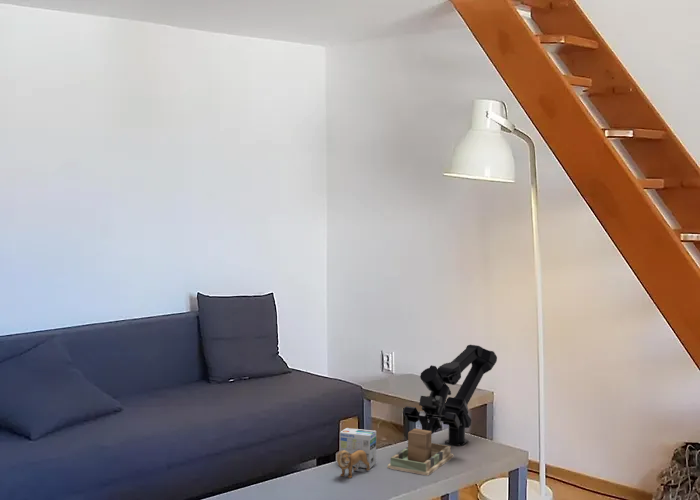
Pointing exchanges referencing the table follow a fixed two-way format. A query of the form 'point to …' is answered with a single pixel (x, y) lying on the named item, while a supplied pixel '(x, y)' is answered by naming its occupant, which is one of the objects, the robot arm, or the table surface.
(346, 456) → the lion figurine
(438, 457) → the beige flat tray
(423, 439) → the walnut block
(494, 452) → the table surface
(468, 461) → the table surface
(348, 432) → the light bulb box
